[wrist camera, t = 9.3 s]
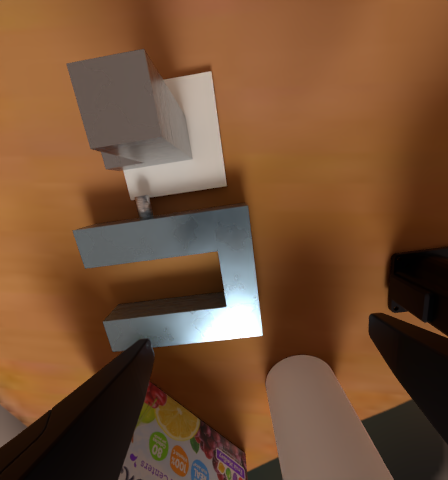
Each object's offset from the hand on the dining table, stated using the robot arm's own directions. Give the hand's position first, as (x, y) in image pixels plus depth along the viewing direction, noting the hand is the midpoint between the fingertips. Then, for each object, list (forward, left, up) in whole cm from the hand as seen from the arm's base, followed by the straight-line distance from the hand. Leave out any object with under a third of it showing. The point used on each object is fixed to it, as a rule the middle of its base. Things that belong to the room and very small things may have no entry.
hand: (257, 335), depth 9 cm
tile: (+5, -10, -13) cm, 17 cm away
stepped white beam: (+5, -10, -12) cm, 17 cm away
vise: (+8, +2, -13) cm, 15 cm away
